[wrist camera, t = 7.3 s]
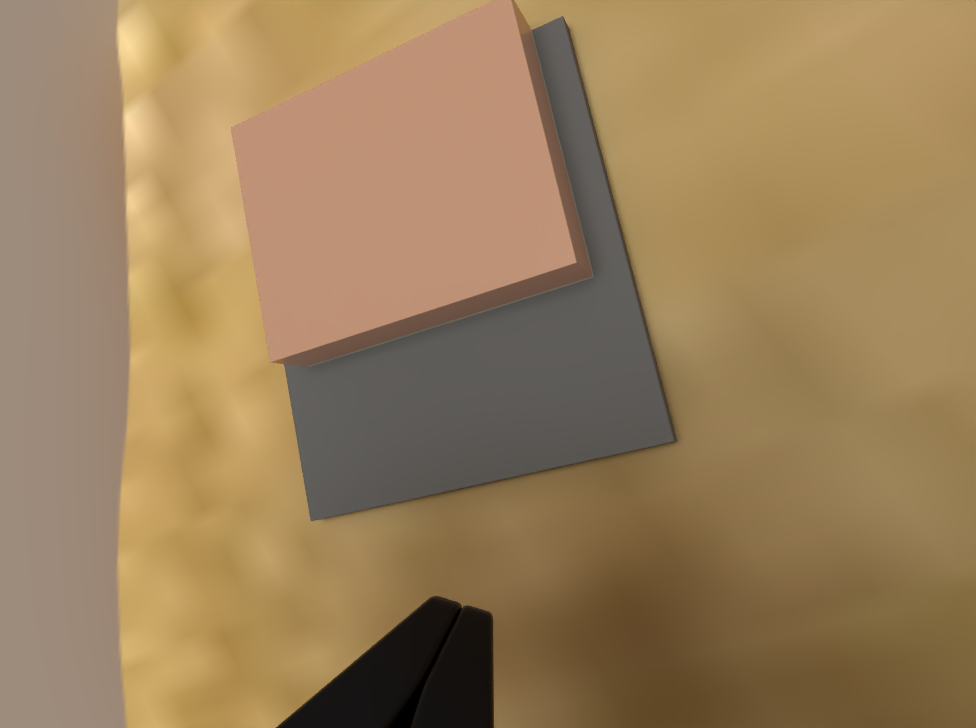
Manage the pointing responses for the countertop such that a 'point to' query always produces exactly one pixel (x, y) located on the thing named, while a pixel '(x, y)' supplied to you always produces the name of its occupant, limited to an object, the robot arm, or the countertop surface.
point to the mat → (495, 365)
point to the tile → (409, 192)
